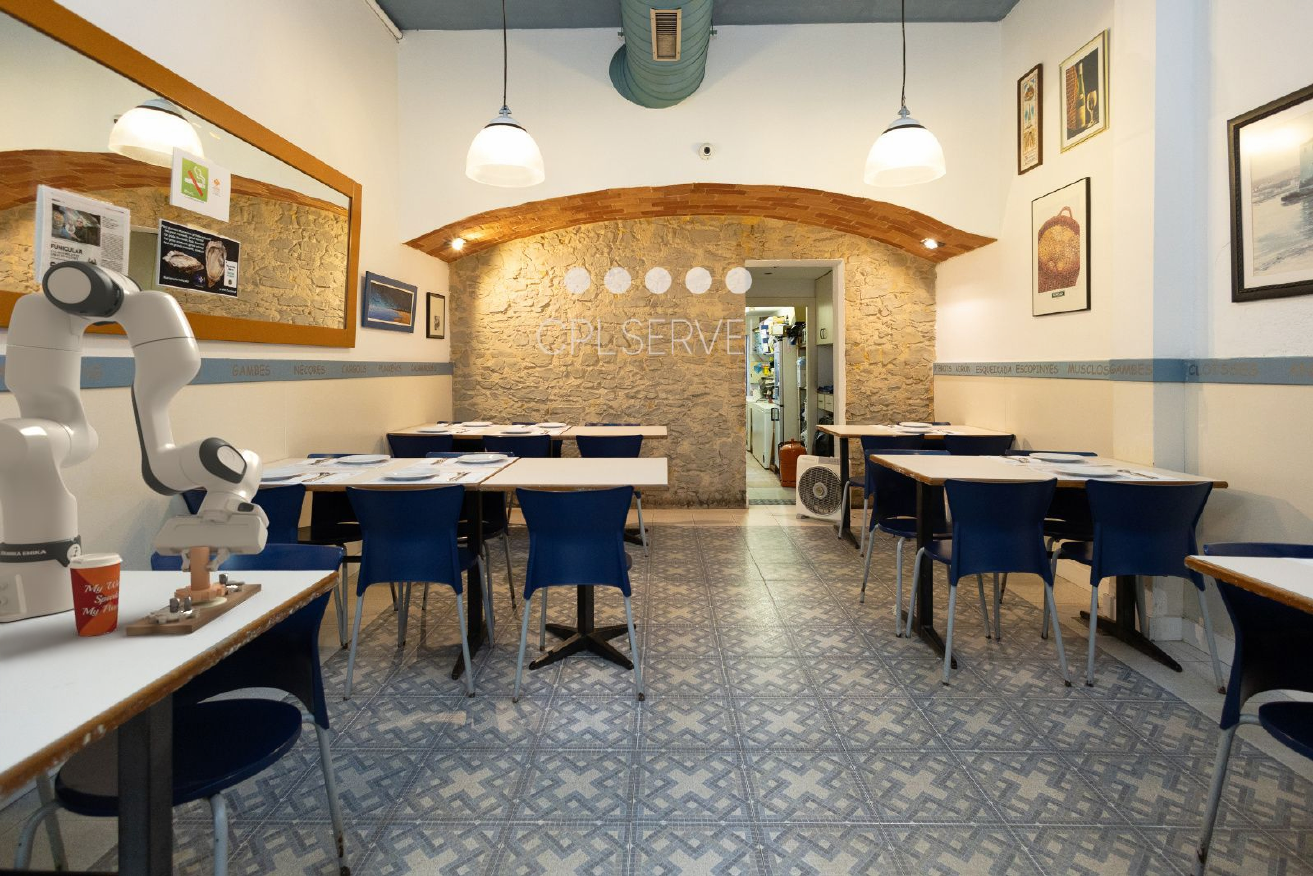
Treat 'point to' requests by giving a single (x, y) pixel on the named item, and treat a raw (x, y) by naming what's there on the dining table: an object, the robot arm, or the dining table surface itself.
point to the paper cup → (95, 592)
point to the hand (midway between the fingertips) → (198, 570)
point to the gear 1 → (175, 612)
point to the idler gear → (200, 578)
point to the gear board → (206, 615)
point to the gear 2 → (230, 584)
